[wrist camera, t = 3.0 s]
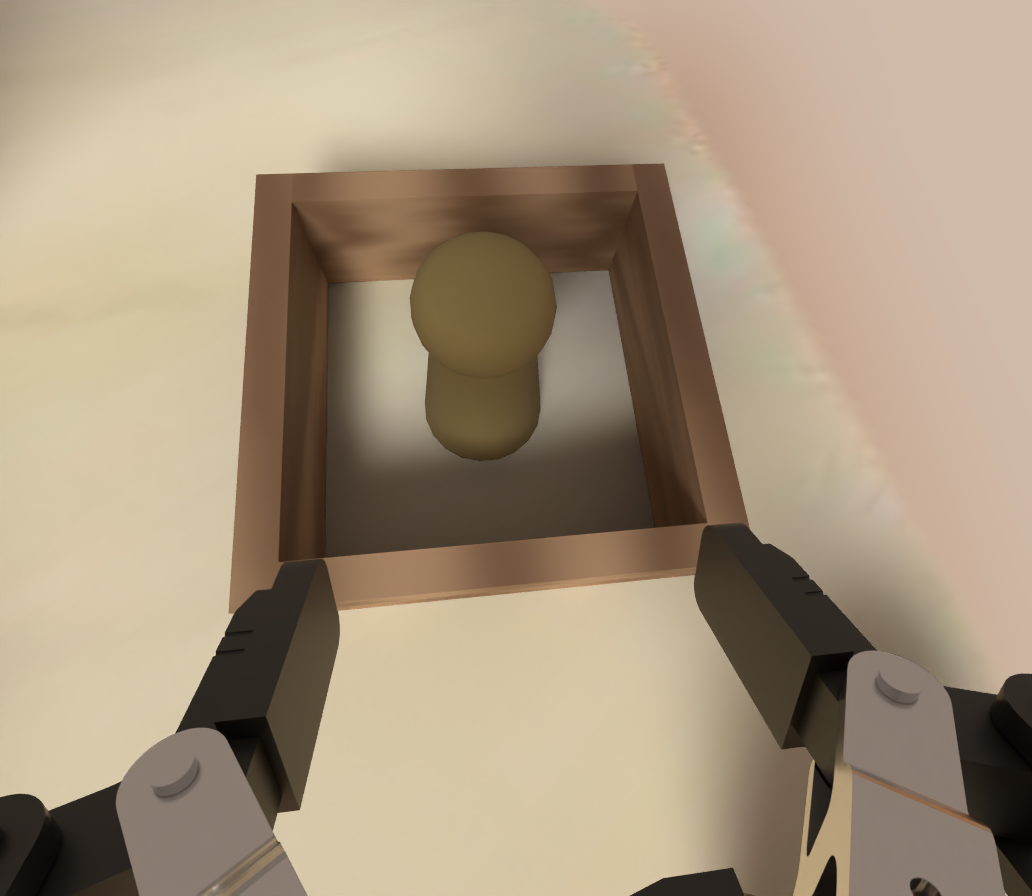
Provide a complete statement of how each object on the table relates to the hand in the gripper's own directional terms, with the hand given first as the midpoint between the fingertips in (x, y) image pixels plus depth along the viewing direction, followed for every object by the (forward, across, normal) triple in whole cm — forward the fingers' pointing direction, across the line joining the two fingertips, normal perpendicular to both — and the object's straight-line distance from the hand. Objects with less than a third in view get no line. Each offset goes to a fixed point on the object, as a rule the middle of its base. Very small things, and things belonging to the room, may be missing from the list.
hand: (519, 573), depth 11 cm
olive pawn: (+17, 0, +3) cm, 18 cm away
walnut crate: (+17, 0, +3) cm, 17 cm away
